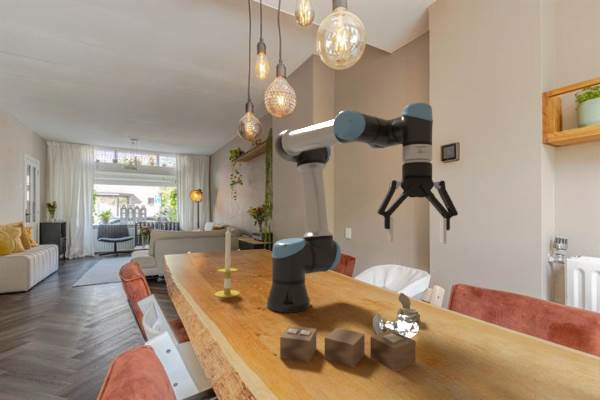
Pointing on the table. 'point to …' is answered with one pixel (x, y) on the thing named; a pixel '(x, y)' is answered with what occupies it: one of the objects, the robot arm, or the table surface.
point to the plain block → (345, 347)
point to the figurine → (397, 325)
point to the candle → (227, 271)
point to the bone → (407, 308)
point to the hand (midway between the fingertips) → (416, 242)
